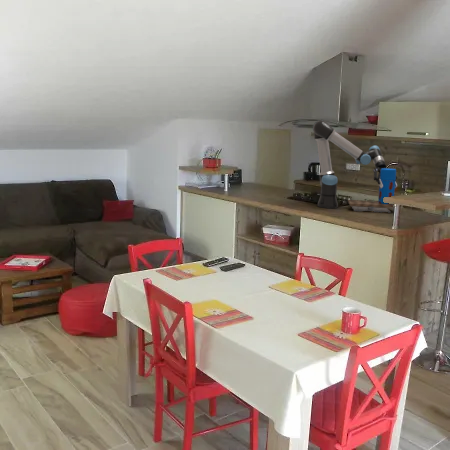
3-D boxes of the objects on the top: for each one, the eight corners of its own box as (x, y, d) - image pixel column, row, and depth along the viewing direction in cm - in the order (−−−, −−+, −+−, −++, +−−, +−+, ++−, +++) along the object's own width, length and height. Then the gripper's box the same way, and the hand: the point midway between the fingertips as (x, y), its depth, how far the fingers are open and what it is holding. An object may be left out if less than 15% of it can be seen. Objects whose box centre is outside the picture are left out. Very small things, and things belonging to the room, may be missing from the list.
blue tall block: (383, 204, 367) (386, 170, 362) (375, 202, 377) (377, 168, 372) (396, 204, 370) (399, 169, 364) (387, 201, 380) (390, 168, 374)
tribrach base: (354, 211, 370) (354, 205, 369) (351, 207, 384) (351, 202, 383) (390, 212, 368) (391, 207, 367) (386, 209, 381) (387, 204, 380)
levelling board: (350, 205, 369) (350, 201, 368) (347, 202, 384) (348, 197, 384) (395, 207, 365) (396, 202, 365) (391, 203, 381) (391, 199, 380)
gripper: (391, 166, 385) (400, 190, 374) (363, 166, 380) (372, 190, 368) (395, 160, 379) (405, 183, 368) (367, 160, 374) (376, 184, 362)
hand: (389, 187), depth 368 cm, fingers closed on blue tall block, 11 cm apart
